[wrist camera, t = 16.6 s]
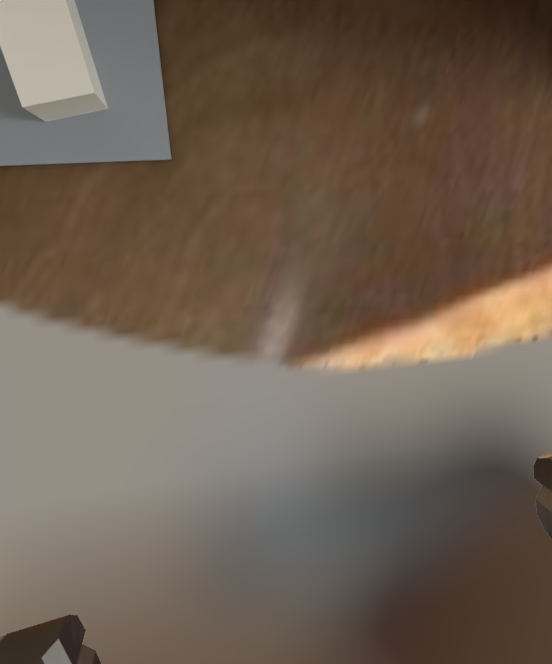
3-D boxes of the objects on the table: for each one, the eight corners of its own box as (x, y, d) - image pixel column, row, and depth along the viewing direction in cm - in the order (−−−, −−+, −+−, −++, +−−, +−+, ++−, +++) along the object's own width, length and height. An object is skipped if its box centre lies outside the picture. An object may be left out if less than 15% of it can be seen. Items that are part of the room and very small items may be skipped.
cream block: (108, 109, 32) (68, -18, 30) (94, 92, 28) (47, -58, 25) (45, 121, 31) (0, -7, 29) (22, 107, 27) (-33, -45, 25)
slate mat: (147, -57, 30) (146, -60, 30) (171, 159, 34) (171, 159, 34) (-78, -66, 28) (-81, -69, 28) (-26, 167, 32) (-28, 166, 31)
